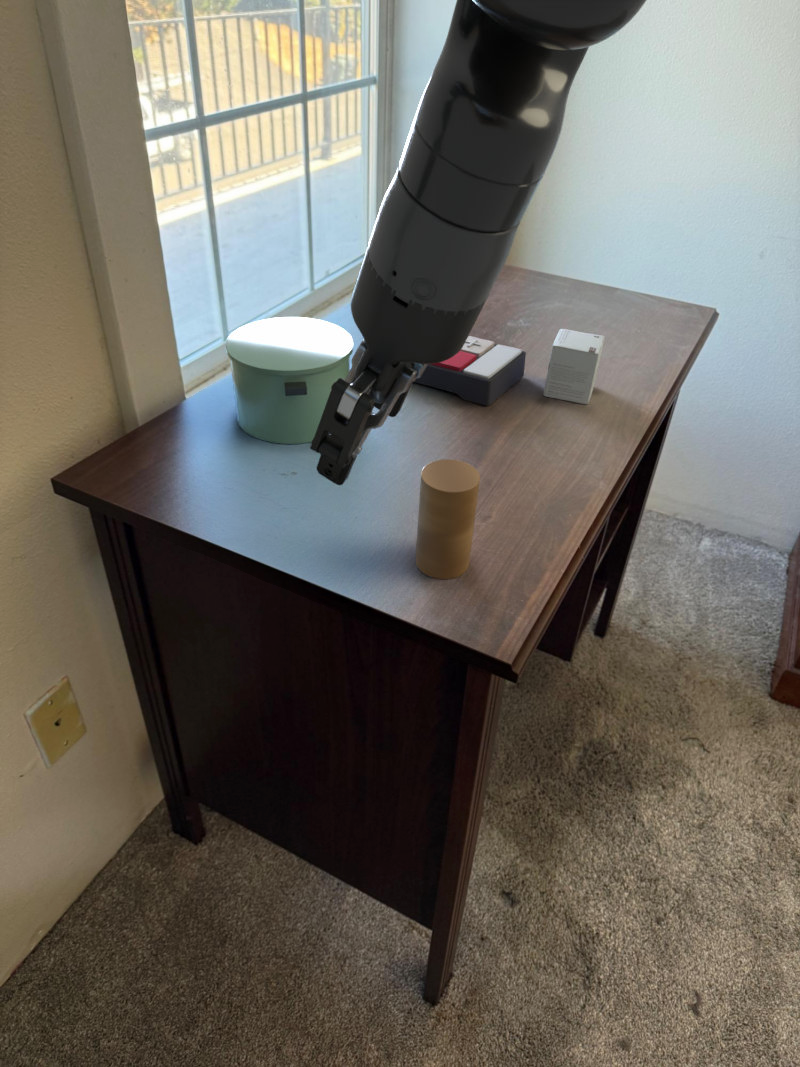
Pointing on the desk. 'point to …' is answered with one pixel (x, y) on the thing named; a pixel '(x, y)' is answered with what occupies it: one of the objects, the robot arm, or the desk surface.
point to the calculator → (477, 371)
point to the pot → (286, 375)
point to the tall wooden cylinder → (446, 518)
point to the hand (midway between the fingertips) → (358, 441)
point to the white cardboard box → (573, 366)
